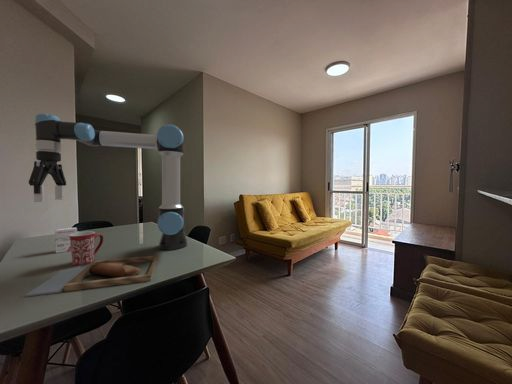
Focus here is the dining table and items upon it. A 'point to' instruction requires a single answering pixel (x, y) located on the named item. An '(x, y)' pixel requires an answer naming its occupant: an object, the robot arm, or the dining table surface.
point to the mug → (84, 247)
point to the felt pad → (55, 283)
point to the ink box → (63, 239)
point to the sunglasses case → (114, 270)
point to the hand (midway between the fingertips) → (49, 200)
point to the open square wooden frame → (77, 285)
